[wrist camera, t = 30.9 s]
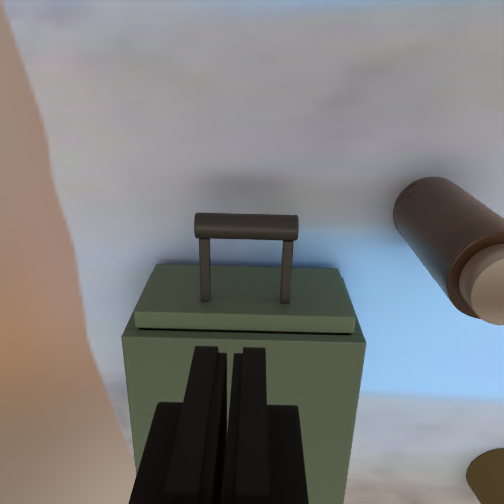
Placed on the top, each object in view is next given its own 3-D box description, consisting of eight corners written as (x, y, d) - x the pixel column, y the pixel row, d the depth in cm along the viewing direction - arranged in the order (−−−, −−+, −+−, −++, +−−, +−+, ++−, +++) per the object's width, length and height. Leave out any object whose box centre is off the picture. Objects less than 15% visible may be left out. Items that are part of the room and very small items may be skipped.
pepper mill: (398, 175, 32) (469, 242, 21) (470, 177, 32) (579, 245, 21) (388, 242, 34) (449, 334, 23) (456, 244, 34) (549, 337, 23)
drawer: (150, 187, 32) (124, 221, 26) (346, 192, 32) (367, 227, 26) (167, 424, 41) (150, 493, 34) (321, 429, 41) (332, 498, 34)
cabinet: (151, 272, 36) (121, 336, 28) (343, 277, 36) (366, 342, 28) (163, 436, 42) (141, 525, 35) (324, 441, 42) (339, 531, 34)
